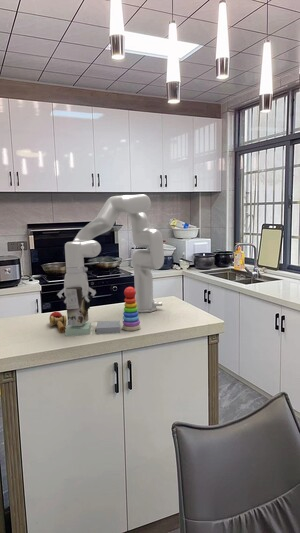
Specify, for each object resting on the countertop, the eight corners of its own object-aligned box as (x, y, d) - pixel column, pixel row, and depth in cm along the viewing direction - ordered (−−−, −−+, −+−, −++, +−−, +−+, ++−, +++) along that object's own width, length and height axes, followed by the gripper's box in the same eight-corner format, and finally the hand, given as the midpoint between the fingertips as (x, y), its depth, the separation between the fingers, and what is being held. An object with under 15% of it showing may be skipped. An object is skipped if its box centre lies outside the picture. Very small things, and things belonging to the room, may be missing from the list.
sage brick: (90, 328, 169) (90, 322, 168) (89, 335, 159) (89, 328, 159) (68, 329, 168) (68, 323, 167) (65, 336, 158) (65, 329, 158)
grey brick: (120, 326, 170) (119, 320, 169) (120, 333, 160) (119, 327, 159) (97, 328, 169) (97, 321, 169) (96, 335, 159) (96, 328, 159)
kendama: (73, 333, 165) (64, 318, 181) (70, 321, 163) (61, 306, 179) (56, 339, 162) (48, 323, 178) (53, 326, 160) (45, 311, 176)
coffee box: (81, 326, 158) (79, 288, 156) (67, 325, 159) (64, 288, 157) (89, 320, 167) (87, 284, 164) (75, 319, 168) (73, 284, 166)
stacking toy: (120, 327, 167) (118, 286, 165) (136, 325, 170) (135, 284, 168) (125, 332, 160) (124, 289, 158) (143, 329, 163) (141, 287, 161)
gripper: (96, 268, 164) (98, 307, 167) (55, 270, 163) (58, 310, 165) (95, 271, 157) (97, 312, 159) (53, 272, 155) (55, 314, 158)
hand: (77, 310), depth 162 cm, fingers closed on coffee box, 7 cm apart
